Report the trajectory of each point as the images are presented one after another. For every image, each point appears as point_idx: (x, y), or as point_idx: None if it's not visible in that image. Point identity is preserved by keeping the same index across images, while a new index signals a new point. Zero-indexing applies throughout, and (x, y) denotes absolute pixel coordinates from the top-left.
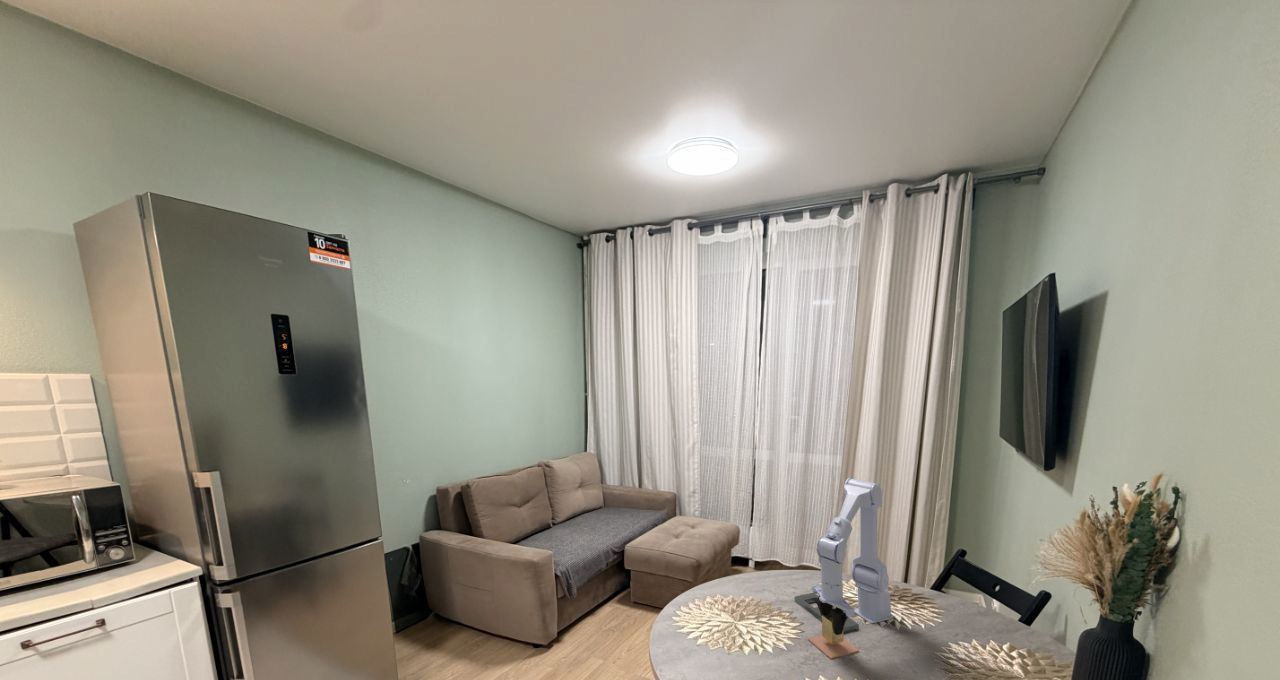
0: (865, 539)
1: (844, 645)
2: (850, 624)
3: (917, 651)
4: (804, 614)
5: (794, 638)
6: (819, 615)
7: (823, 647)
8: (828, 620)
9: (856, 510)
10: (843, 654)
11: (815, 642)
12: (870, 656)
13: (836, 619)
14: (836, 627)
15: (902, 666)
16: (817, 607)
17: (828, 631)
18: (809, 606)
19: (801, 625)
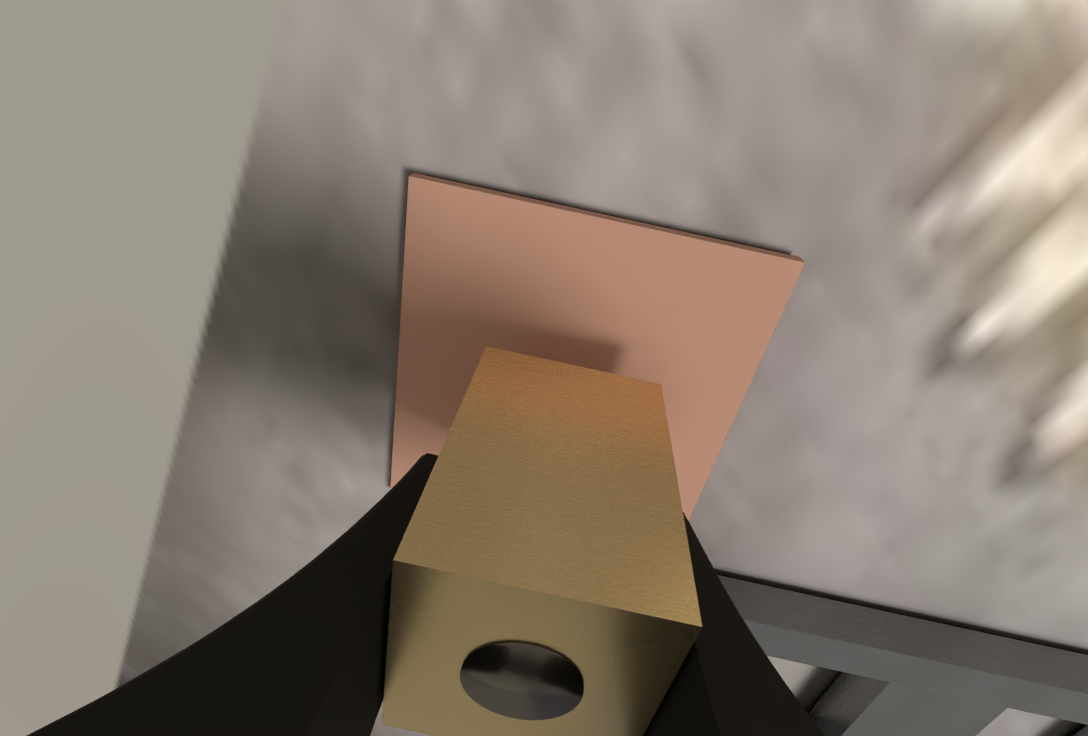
0: None
1: None
2: None
3: None
4: (1056, 592)
5: (970, 132)
6: (904, 652)
7: (582, 273)
8: (496, 573)
9: None
10: (398, 350)
11: (699, 275)
12: (327, 512)
13: (150, 669)
14: (354, 528)
15: (178, 570)
16: (981, 726)
17: (532, 432)
18: (1064, 700)
19: (1007, 431)
